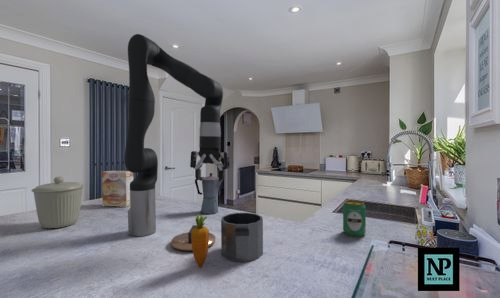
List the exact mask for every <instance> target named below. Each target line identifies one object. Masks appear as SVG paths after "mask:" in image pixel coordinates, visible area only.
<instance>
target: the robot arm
mask: <svg viewBox="0 0 500 298" xmlns="http://www.w3.org/2000/svg"><path fill="white" fill-rule="evenodd" d="M127 60H128V75H129V78H128V81H129V83H128V85H129V86H128V87H129V88H128V90H129V93H128V108H127V109H128V121H127V134H126V141H125V142H126V143H125V149H124V165H125V168H126V171H130V172H132V173H133V174H134V173H135V174H136V173H137V174H136V176H135V178H133V181H132V182H131V183H130V206H129V209H128V210H127V222H128V223H127V224H128V226H127V227H128V233H127V234H128V235H129V236H134V237H143V236H144V237H146V236H149V235H152V234H155V232H156V231H157V221H156V220H157V216H156V215H157V214H156V213H157V212H156V211H157V210H156V209H157V208H156V207H157V206H156V205H157V204H156V184H157V180H158V170H159V169H158V167H159V164H158V162H159V161H158V155H157V153H156V151H155V150H154V149H152V148H150V147H149V148H148V147H145V137H146V134H147V131H148V129H149V127H150V125H151V124H152V121H153V119H154V117H155V104H156V100H155V99H156V97H155V94H154V91H153V88H152V85H151V83H150V79H149V75H148V65H149V66H151V67H154V68H158V69H160V70H161V71H163V72H166V73H167V74H168V75H169V76H170V77H171V78H173V79H174V80H176V81H177V82H179V83H180V84H182V85H183V86H185V87H187V88H189V89H191V90H192V91H193V92H195V94H197V95H198V96H200V97H203V98H204V100H205V101H204V105H203V106H202V107H201V108H200V119H199V120H200V123H199V141H198V142H199V144H198V146H199V149H198V150H199V151H197V150H192V151H191V152H190V164H189V165H190V166H189V167H190V168H192V169H194V170H195V171H194V172H195V174H194V177H195V179H196V178H197V181H200V179H201V177H202V175H201V174H202V169H201V168H202V167H203V165H204V164H205V165H206V164H211V165H213V164H214V165H215V166H216V167H217V168H218V178H219V181H222V180H223V181H224V179H225V170H228V169H230V152H229V151H225V152H222V151H221V139H222V138H221V137H222V136H221V135H222V133H221V108H222V104H223V98H224V90H223V86H222V85H221V84H220V82H218V81H216V80H214V78H211V77H209V76H207V75H205V74H203V73H201V72H200V71H199V70H197V69H195V68H194V67H192V66H190V65H189V64H187V63H185V62H183V61H181V60H179V59H177V58H174V56H172V55H170V54H169V53H167V52H166V51H165V50H164V49H163V48H162V47H161V46H159V45H158V43H156V42H155V41H154V40H152V39H150V38H149V37H147V36H145V35H143V34H140V33H135V34H134V35H132V36H131V37H130V39H129V41H128V45H127ZM198 157H199V158H200V159H199V160H198V161H197V158H198ZM221 157H222V159H223V163H222V161H221V159H220V158H221ZM223 181H222V182H223Z"/></svg>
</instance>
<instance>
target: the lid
mask: <svg viewBox="0 0 500 298" xmlns="http://www.w3.org/2000/svg"><path fill="white" fill-rule="evenodd" d="M195 227H198V226H197V224H194V225H192V226H191V227H190V230H189V231H188V232H183V233H179V234H177V235H176V236H173V237H172V239H171V242H170V243H171V247H172V248H173V249H175V250H179V251H184V252H188V251H189V252H193V250H192V241H191V231H192V229H194V228H195ZM215 242H216V236H215V235H214V234H213V233H211V232H209V246H208V248H209V247H212V246H213V245H214V244H215Z"/></svg>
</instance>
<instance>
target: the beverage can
mask: <svg viewBox="0 0 500 298" xmlns="http://www.w3.org/2000/svg"><path fill="white" fill-rule="evenodd" d="M366 207H367V206H366V205H365V202H363V201H360V200H351V199H350V200H346V201H344V203H343V205H342V230H343V232H344V235H346V236H350V237H354V238H359V237H361V238H362V237H363V236H365V234H366V225H367V223H366V220H367V219H366V217H367V214H366V213H367V212H366V211H367V210H366Z"/></svg>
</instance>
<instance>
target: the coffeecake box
mask: <svg viewBox="0 0 500 298" xmlns="http://www.w3.org/2000/svg"><path fill="white" fill-rule="evenodd" d="M133 180H134V173H132V172H130V171H128V170H108V171H107V170H106V171H101V183H102V184H101V185H102V187H101V188H102V191H101V192H102V195H101V196H102V206H103V205H104V206H120V207H119V208H128V207H127V206H129V207H130V183H131V182H132V181H133Z"/></svg>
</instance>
